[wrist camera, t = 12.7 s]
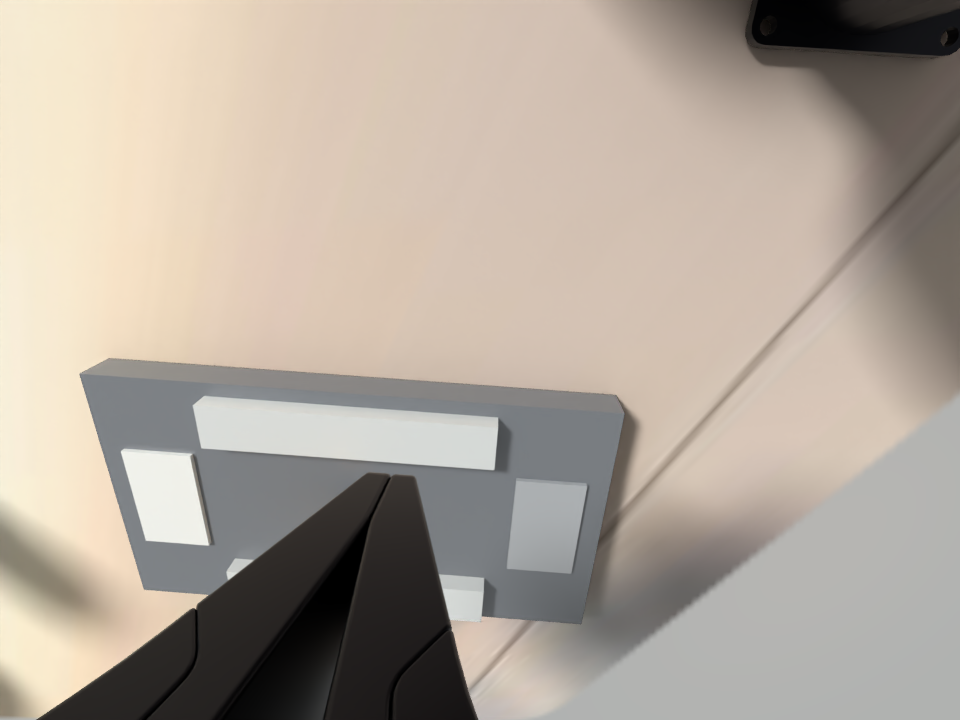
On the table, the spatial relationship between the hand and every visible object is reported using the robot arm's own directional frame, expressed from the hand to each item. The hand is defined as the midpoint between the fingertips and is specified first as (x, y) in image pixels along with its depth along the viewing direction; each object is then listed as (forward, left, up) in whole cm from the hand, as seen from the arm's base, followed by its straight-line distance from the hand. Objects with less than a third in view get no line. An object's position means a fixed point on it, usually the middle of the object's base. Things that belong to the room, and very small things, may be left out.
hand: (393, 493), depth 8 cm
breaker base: (+4, +10, -12) cm, 16 cm away
